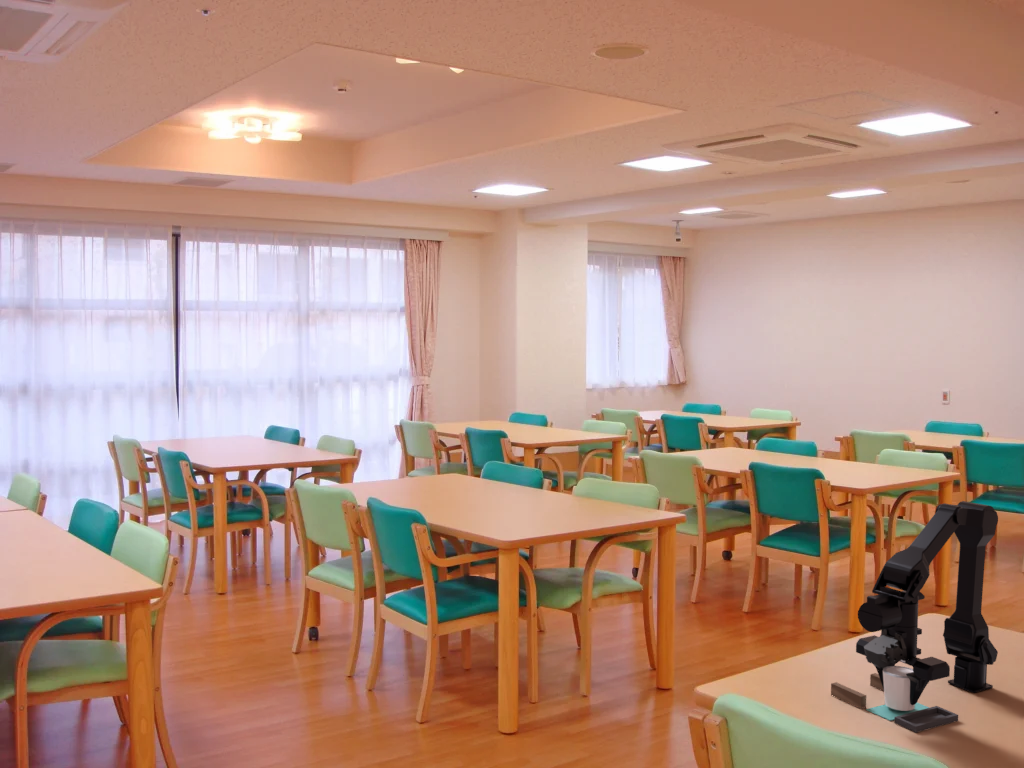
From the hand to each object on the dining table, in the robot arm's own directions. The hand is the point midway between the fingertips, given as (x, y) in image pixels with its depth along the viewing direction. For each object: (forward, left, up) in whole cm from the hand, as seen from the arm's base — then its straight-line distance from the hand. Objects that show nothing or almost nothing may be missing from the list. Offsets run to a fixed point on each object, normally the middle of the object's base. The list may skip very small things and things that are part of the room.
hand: (899, 698), depth 197 cm
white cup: (0, 0, -2) cm, 2 cm away
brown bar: (0, -8, -2) cm, 8 cm away
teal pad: (0, 0, -2) cm, 2 cm away
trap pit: (0, +7, -2) cm, 7 cm away
